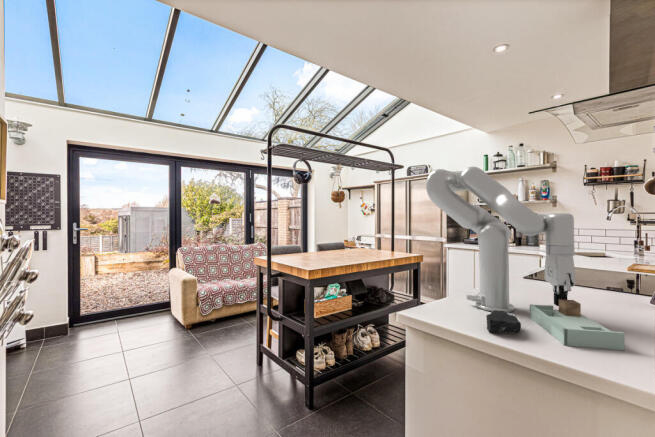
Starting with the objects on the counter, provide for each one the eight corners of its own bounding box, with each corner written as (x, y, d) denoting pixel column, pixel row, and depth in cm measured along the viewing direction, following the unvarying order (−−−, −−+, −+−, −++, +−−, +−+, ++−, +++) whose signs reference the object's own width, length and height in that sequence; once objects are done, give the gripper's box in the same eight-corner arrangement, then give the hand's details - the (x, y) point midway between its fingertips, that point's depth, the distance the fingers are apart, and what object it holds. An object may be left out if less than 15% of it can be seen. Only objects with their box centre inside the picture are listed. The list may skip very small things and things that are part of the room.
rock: (480, 323, 94) (480, 305, 94) (511, 324, 92) (511, 306, 92) (490, 336, 84) (490, 316, 84) (525, 338, 82) (525, 318, 82)
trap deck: (563, 345, 77) (563, 329, 77) (529, 317, 98) (529, 304, 98) (624, 350, 74) (624, 333, 74) (575, 320, 95) (575, 306, 95)
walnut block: (565, 315, 91) (565, 302, 91) (558, 311, 95) (558, 299, 95) (580, 316, 90) (580, 303, 90) (573, 312, 94) (573, 300, 93)
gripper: (536, 248, 106) (537, 298, 106) (557, 253, 91) (558, 312, 91) (561, 248, 104) (562, 299, 104) (586, 253, 89) (587, 313, 89)
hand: (560, 305), depth 98 cm, fingers closed
